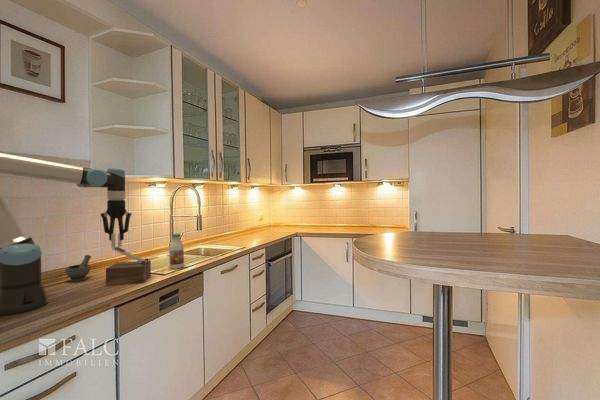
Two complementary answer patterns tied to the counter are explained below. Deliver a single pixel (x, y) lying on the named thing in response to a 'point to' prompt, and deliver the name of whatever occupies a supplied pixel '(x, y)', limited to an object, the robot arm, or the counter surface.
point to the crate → (128, 272)
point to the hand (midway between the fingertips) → (116, 246)
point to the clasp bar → (128, 254)
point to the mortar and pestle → (79, 270)
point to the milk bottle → (176, 252)
